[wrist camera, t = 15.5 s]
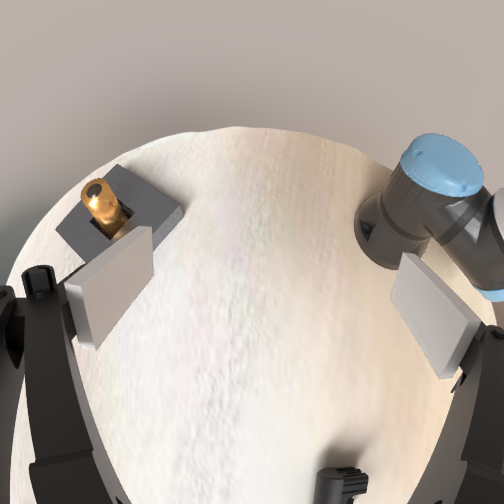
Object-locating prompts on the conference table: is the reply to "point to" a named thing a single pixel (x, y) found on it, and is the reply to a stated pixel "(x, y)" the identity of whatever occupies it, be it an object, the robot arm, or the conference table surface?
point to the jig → (133, 202)
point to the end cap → (339, 485)
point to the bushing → (104, 206)
